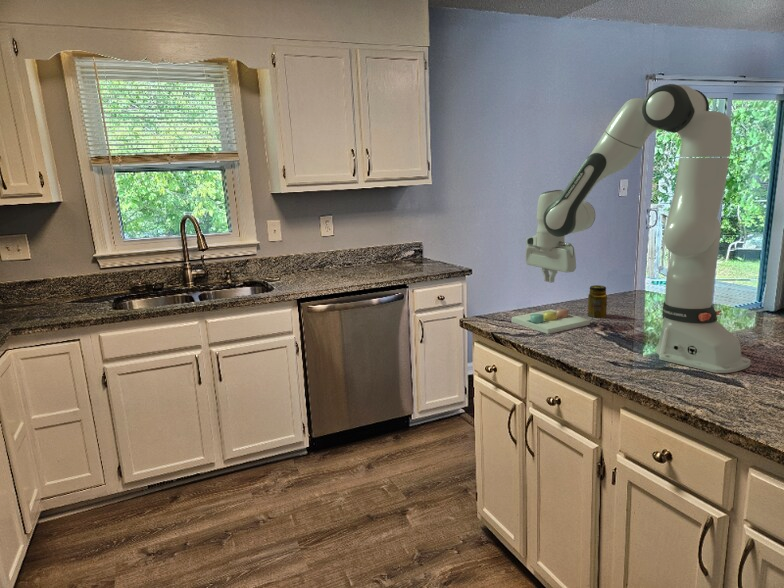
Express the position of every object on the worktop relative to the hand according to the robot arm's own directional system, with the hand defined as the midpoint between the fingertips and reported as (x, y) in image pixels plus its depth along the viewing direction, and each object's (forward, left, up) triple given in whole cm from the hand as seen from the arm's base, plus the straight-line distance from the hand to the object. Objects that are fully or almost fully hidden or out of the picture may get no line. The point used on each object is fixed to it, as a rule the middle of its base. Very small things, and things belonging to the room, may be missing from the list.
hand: (549, 281), depth 171 cm
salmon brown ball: (0, -6, -14) cm, 15 cm away
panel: (0, 0, -16) cm, 16 cm away
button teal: (0, +5, -14) cm, 15 cm away
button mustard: (0, 0, -14) cm, 14 cm away
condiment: (-3, -18, -16) cm, 24 cm away
